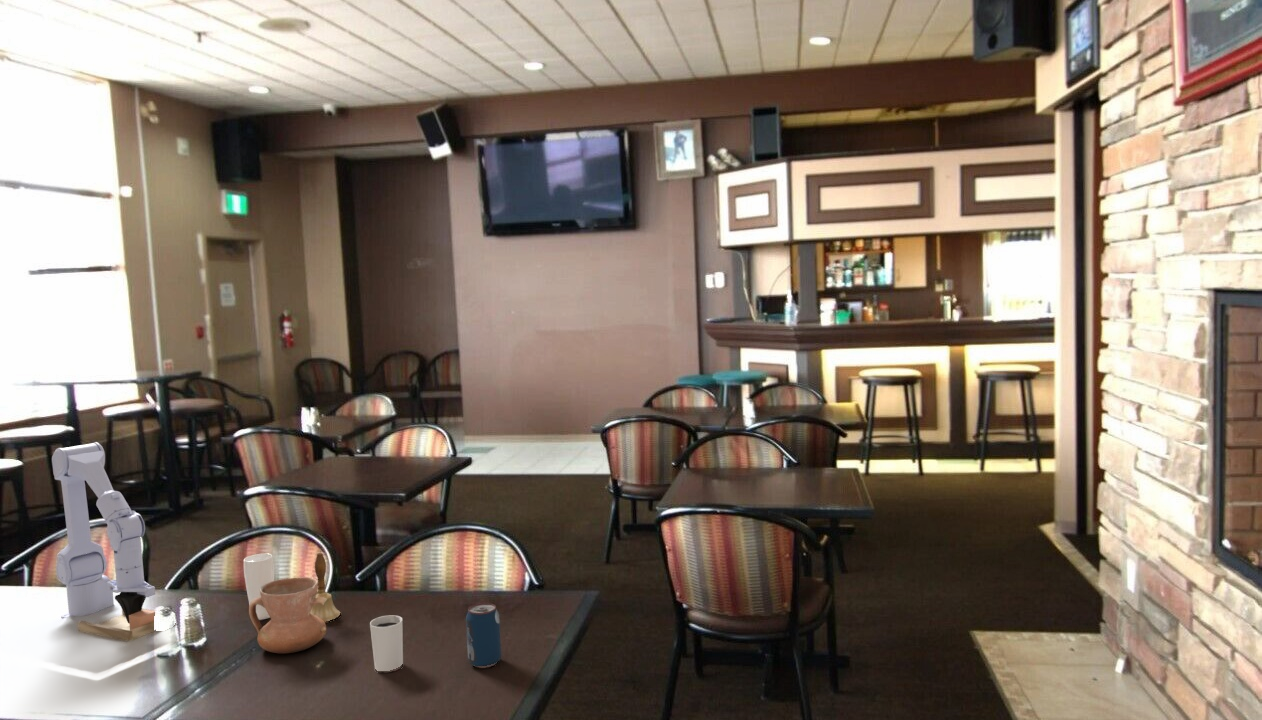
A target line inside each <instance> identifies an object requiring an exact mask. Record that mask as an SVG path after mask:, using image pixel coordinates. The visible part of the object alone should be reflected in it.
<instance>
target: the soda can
mask: <svg viewBox="0 0 1262 720" xmlns="http://www.w3.org/2000/svg"><path fill="white" fill-rule="evenodd" d="M465 625H466V645H467V646H466V647H467V660H468V662H469V663H471V664H472V665H475V666H487V665H491V664H494V663H496V662H498V661H499V662H500V660H501V658H502V647H501V646H502V645H501V643H502V641H501V640H502V639H501V627H500V626H501V625H500V613H499V611H498V610H497V606H496V604H495V603H494V604H493V603H491V602H481V603H476V604H473V605H470V606H469V607H468V610H467V613H466V617H465ZM499 662H498V663H499ZM471 664H470V665H471ZM472 665H471V666H472Z"/></svg>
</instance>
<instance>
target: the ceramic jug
mask: <svg viewBox="0 0 1262 720" xmlns="http://www.w3.org/2000/svg"><path fill="white" fill-rule="evenodd" d="M316 594H318V579H316V578H312V577H309V576H308V577H307V576H306V577H305V576H303V577H300V576H299V577H292V578H291V577H290V578H288V577H287V578H281V579H276V580H275V579H274V581H271V582H269V583H266V584H264V585H263V586H262V587H261V588H260V595H261V598H256V599H254V600H253V601H252V602H251V603H250V606H249V607H248V615H249V618H250V620H251V622H252V625H253V626H254V628H255V630H256V632H257V639H256V640H257V643H258V646H260V648H262V649H263V650H264V651H267V652H269V653H275V654H292V653H298V652H302V651H304V650H308V649H309V648H311V647H313V646H315V645H316V644H318V643H319V642H320V641H321V640H322V639H323V638H324V637H325V636H326V633H327V625H326V622H324V621H323V620H322V619H321V618H319V617H317V616H315V615H313V614H311V613H310V612H311V610H312V607H313V606H314V605H316V604H318V603H320V604H322V605H324V603H325V601H326V600H327V599H326V598H324V597H318V598H316ZM256 605H261V606H263V607H264V608H265V609H266V611H267V613H268V614H269V616H270V618H269V619H270V620H269V621H267V623H266V624H265V625H263V626H262V624H261V620H259V619H258V617H257V613H256Z"/></svg>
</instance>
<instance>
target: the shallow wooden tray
mask: <svg viewBox="0 0 1262 720" xmlns="http://www.w3.org/2000/svg"><path fill="white" fill-rule="evenodd" d="M144 609H145V610H150V611H155V610H153V609H148V608H143V607H142V610H144ZM142 610H141V611H142ZM121 612H122V614H120V615H118V616H114V617H112V618H109V619H107V620H104V621H101V622H98V623H94V622H88V621H84V620H81V621H78V622H77V626H78V628H77V629H78V632H81V633H82V632H83V633H87V634H91V635H96V636H97V635H98V636H101V637H106V638H110V639H115V640H121V641H123V642H124V641H126V642H131V641H133V640H135V639H138V638H141V637H144V636H146V635H149V634H150V633H153V632H155V631H154V621H152V622H150V623H147V624H145V625H142V626H140V627H137V628H135V629H132V630H130V624H129V623H128V622H127V619H126V617H125V614H124V612H123V609H122V608H121Z"/></svg>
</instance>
